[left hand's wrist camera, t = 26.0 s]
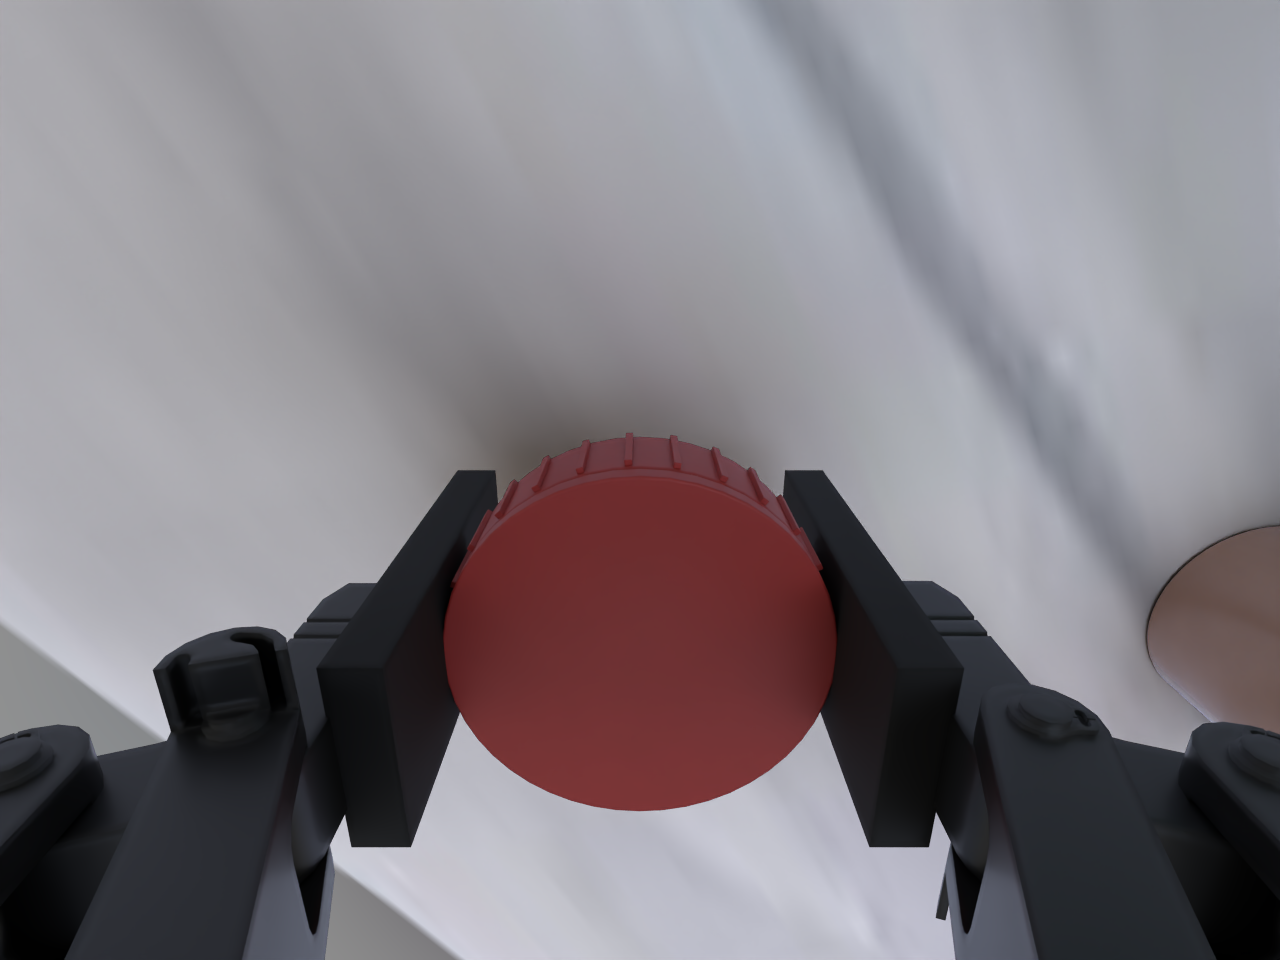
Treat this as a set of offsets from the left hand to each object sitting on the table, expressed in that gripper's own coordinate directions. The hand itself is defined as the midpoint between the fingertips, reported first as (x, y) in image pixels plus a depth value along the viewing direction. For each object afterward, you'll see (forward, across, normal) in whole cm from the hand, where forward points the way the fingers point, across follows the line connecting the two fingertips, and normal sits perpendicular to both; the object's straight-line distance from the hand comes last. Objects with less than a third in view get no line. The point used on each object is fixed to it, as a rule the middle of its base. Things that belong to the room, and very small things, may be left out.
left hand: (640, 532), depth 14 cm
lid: (-4, 0, 0) cm, 4 cm away
